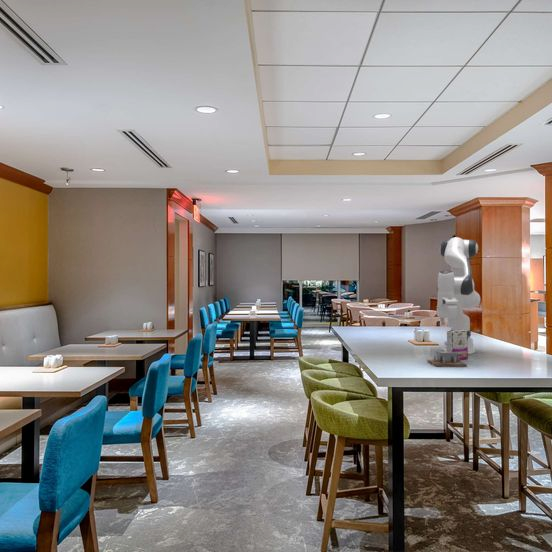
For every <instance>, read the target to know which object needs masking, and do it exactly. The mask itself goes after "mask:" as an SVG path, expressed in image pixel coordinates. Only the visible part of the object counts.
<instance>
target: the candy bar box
mask: <svg viewBox="0 0 552 552" xmlns="http://www.w3.org/2000/svg"><path fill="white" fill-rule="evenodd" d="M446 341H447V352H455V353H457V356H459V361H460V360H468V359H469V356H468V355H469V354H468V346H467V331H465V330H456V331H450V330H447V331H446Z"/></svg>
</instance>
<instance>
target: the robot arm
mask: <svg viewBox="0 0 552 552" xmlns="http://www.w3.org/2000/svg"><path fill="white" fill-rule="evenodd" d="M478 250H479V245H478V243H477V241H476V240H474V239H463V238H461V237H458V236H455V237H452V238H450V239H449V240H443V241H442V242H441V243H440V247H439V253H440V255H441V256H442V257H443V259H444V261H445V263H446V264H447V265H448V266H450V270H441V271H439V272H438V276H437V282H436V289H437V305H436V317H438V318H439V322H440V325H441V326H446V327H448V328H450V330H449V331H456V330H465V331H467V346H468V355H470V354H474V353H475V354H476V352H477V351H476V350H474V341H473V338H472V337H471V335H472V334H471V320H470V319H471V318H470V317H469V316H468V315H467V314H465V313H464V311H463V309H471V308H476V307H478V306H479V305H480V303H481V296H480V294H479V293H478V292H477V291H476V290H475V282H474V279H473V273H472V265H471V261H470V259H472V258H474V257H475V256H477V254H478ZM445 319H447V323H446V322H445ZM446 324H447V325H446ZM443 343H444V346H445V347H442V348H441V349H442V352H447V340H446V341H444V342H443Z"/></svg>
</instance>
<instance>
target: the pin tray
mask: <svg viewBox="0 0 552 552" xmlns="http://www.w3.org/2000/svg"><path fill="white" fill-rule="evenodd" d="M426 361H427V363H428V364H430V365H432V366H434V367H436V368H439V367H440V368H467V363H466V362H463V361H460V360H459V356H457V362H456V357H454V362H451V363H445V357H443V363H440V362H438V361H437V357H436V355H433V359H426Z"/></svg>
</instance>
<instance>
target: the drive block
mask: <svg viewBox="0 0 552 552" xmlns="http://www.w3.org/2000/svg"><path fill="white" fill-rule="evenodd" d="M435 356H436V360H437V361H438V362H440V363H443V357H445V363H451V362H454V357H456V362H457V353H455V352H445V351H436V355H435Z"/></svg>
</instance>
